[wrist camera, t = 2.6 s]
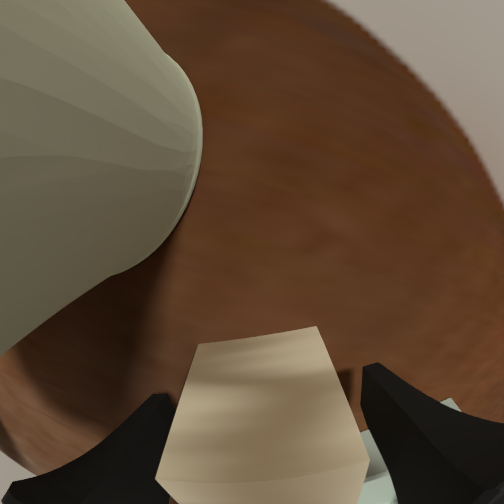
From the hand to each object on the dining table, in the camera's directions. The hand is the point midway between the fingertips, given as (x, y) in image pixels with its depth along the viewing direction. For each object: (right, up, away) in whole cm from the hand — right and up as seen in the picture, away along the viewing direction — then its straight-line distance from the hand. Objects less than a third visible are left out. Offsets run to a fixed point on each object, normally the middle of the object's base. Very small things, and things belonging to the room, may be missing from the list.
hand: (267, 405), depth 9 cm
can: (-7, +9, 0) cm, 11 cm away
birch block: (0, 0, +1) cm, 2 cm away
